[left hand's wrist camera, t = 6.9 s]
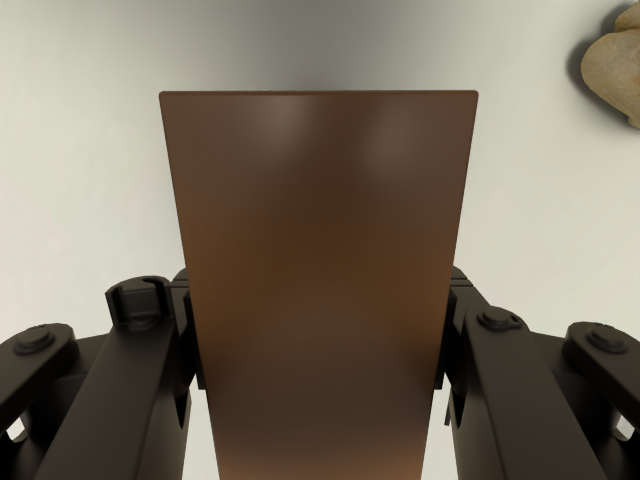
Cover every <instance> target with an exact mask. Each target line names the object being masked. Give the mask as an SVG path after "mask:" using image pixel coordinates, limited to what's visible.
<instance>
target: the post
mask: <svg viewBox="0 0 640 480" xmlns="http://www.w3.org/2000/svg"><path fill="white" fill-rule="evenodd" d="M478 96H479V95H478V91H476V90H333V91H162V92H160V93H159V101H160V108H161V114H162V120H163V127H164V133H165V139H166V145H167V152H168V158H169V164H170V170H171V177H172V183H173V189H174V196H175V202H176V208H177V214H178V221H179V227H180V233H181V239H182V246H183V252H184V258H185V265H186V271H187V277H188V283H189V290H190V296H191V302H192V308H193V315H194V321H195V327H196V334H197V340H198V346H199V352H200V359H201V365H202V371H203V377H204V384H205V390H206V396H207V403H208V409H209V415H210V421H211V428H212V434H213V440H214V446H215V453H216V459H217V465H218V472H219V478H220V480H421V474H422V467H423V460H424V454H425V447H426V440H427V434H428V427H429V421H430V414H431V407H432V401H433V394H434V387H435V381H436V374H437V368H438V361H439V354H440V348H441V341H442V334H443V328H444V321H445V314H446V308H447V301H448V295H449V288H450V281H451V275H452V268H453V261H454V255H455V248H456V242H457V235H458V228H459V222H460V215H461V208H462V202H463V195H464V188H465V182H466V175H467V169H468V162H469V155H470V149H471V142H472V135H473V129H474V122H475V116H476V109H477V102H478Z"/></svg>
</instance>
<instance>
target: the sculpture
mask: <svg viewBox="0 0 640 480" xmlns="http://www.w3.org/2000/svg"><path fill="white" fill-rule="evenodd" d="M581 73H582V77H583V80H584V82H585V83H586V85H587V86H588V87H589V88H590V89H591V90H592V91H593V92H594V93H596V94H597V95H598V96H599V97H601V98H602V99H603V100H605V101H606V102H608V103H609V104H610V105H612V106H613V107H615V108H616V109H618V110H619V111H621V112H623V113H624V114H626V115H627V116H629V118H628V121H629V123H630V124H631V125H632V126H634V127H636V128H638V129H640V0H639V1H638V2H637V3H635V4H634V5H633V6H631V7H630V8H628V9H627V10H626V11H624V12H623V13H622V14H620V15H619V16H618V18H617V19H616V21H615V30H614V33H608V34H606V35H604V36H603V37H601V38H599V39H598V40H597V41H596V42H594V43H593V44H592V45H591V46H590V47H589V48H588V50H587V51H586V53H585V55H584V57H583V59H582V62H581Z"/></svg>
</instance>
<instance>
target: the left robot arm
mask: <svg viewBox="0 0 640 480" xmlns="http://www.w3.org/2000/svg"><path fill="white" fill-rule="evenodd" d="M105 296H106V300H107V303H108V307H109V311H110V315H111V318H112V322H113V327H112V329H111V331H110V332H109V333H108V334H104V335H98V336H93V337H88V338H82V339H77V340H76V338H75V335H74V332H73V329H72V328H71V327H70V326H69V325H67V324H60V323H54V324H43V325H38V326H34V327H31V328H28V329H27V330H25V331H23V332H20V333H18V334H16V335H14V336H13V337H11V338H9V339H8V340H6V341H4V342H3V343H2V344H0V480H182V473H183V465H184V458H185V450H186V442H187V434H188V426H189V418H190V410H191V403H192V402H191V395H190V390H189V386H190V384H191V382H192V380H193V378H194V375H195V373H196V378H197V383H198V389H199V390H205V384H204V377H203V371H202V365H201V359H200V352H199V346H198V340H197V334H196V327H195V321H194V315H193V308H192V302H191V296H190V290H189V283H188V277H187V271H186V268H184V269H182V270H181V271H180V272H179V273H178V274H177V275H176V276H175V278H174V279H173V281H171V282H170V281H169V280H167V279H166V278H165V277H160V276H141V277H135V278H131V279H128V280H125V281H122V282H120V283H118V284H116V285H114V286H112V287H111V288H110V289H109V290H108V291H107V292H105ZM444 373H446V375H447V377H448V380H449V382H450V384H451V390H450V395H449V401H448V406H447V412H446V417H445V424H444V425H447V426H449V423H450V419H451V425H452V433H453V441H454V449H455V457H456V465H457V472H458V480H640V342H639V341H638V340H636V339H635V338H633V337H631V336H630V335H628V334H626V333H625V332H622V331H620V330H617V329H615V328H614V327H612V326H609V325H603V324H601V323H596V322H595V323H593V322H576V323H573V324H571V325H570V326H569V327H568V330H567V333H566V336H565V338H561V337H556V336H550V335H545V334H540V333H535V332H531V331H530V330H529V328H528V326H527V324H526V323H525V322H524V321H523V320H522V319H521V318H520V317H519V316H517V315H516V314H514V313H512V312H510V311H508V310H505V309H503V308H500V307H495V306H490V304H489V303H488V302H487V301H486V300H485V298H484V297H483V296H482V295H481V294H480V292H479V291H478V290H477V289H476V288H475V287H473V284H472V283H471V282H470V280H468V278H467V277H466V276H465V275H464V273H463V272H462V271H461V270H460V269H458V268H457V267H455V266H453V268H452V275H451V281H450V288H449V295H448V301H447V308H446V314H445V321H444V328H443V334H442V341H441V348H440V354H439V361H438V368H437V374H436V381H435V387H434V390H442V385H443V379H444ZM621 415H622V416H623V417H624V418H625V419H626V420H627V421H628V422H629V423H630V424H631V425H632V426H633V427H634V428H635V430H634V432H633V434H632V436H631V438H630V439H627V438H626V437H625V436H624V435H623V434H622V433H621V432H620V431H619V430H618V429H617V428H616V426H617V424H618V422H619V420H620V417H621ZM19 417H20V419H21V421H22V423H23V425H24V428H25V429H24V430H23V431H22V432H21V434H20V435H19V436H17V437H16V438H15V439H14V440H11V439H10V437H9V435H8V433H7V431H6V430H7V429H8V428H9V427H10V426H11V425H12V424H13V423H14V422H15V421H16V420H17V419H18V418H19Z"/></svg>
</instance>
